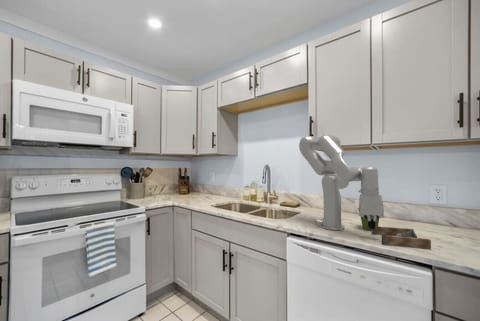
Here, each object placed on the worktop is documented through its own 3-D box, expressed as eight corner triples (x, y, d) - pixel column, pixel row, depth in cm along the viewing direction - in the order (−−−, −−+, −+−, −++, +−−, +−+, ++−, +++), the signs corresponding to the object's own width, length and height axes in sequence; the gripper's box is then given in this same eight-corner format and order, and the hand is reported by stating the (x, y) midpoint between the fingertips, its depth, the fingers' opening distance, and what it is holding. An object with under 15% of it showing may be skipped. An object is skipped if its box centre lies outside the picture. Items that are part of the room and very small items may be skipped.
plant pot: (356, 225, 129) (356, 206, 129) (379, 227, 125) (378, 208, 125) (360, 231, 118) (359, 210, 118) (385, 233, 114) (384, 212, 114)
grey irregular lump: (391, 237, 110) (391, 225, 103) (407, 234, 108) (408, 221, 101) (402, 255, 102) (403, 243, 95) (418, 252, 100) (421, 240, 93)
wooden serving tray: (383, 244, 97) (382, 234, 97) (372, 233, 114) (371, 224, 114) (431, 249, 92) (430, 238, 92) (412, 236, 108) (412, 227, 108)
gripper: (354, 192, 105) (356, 229, 105) (390, 192, 101) (392, 232, 100) (351, 191, 113) (353, 226, 112) (384, 191, 108) (386, 227, 107)
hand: (371, 228), depth 106 cm, fingers closed
